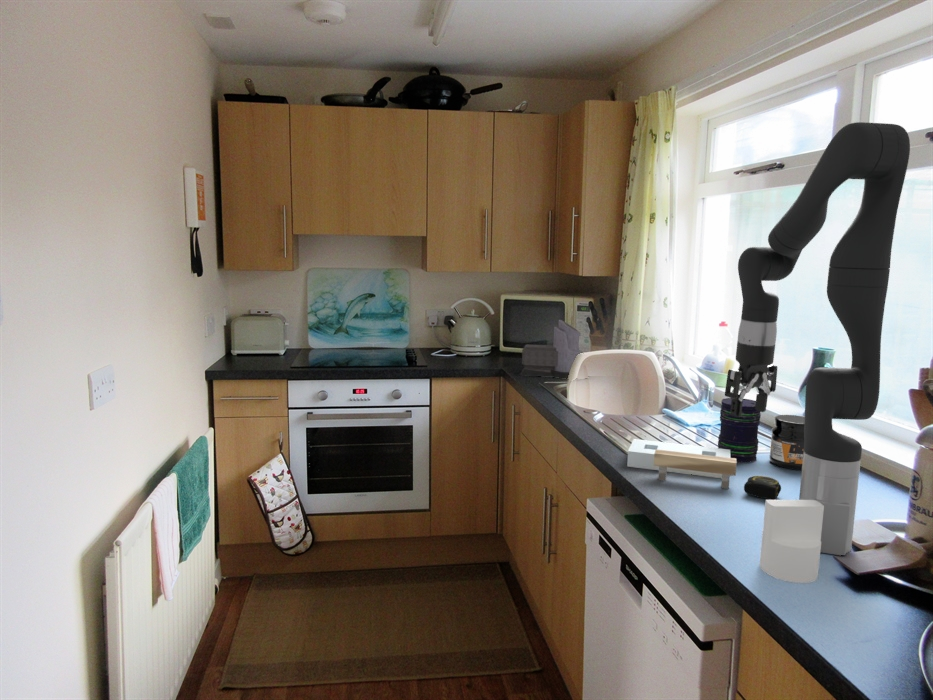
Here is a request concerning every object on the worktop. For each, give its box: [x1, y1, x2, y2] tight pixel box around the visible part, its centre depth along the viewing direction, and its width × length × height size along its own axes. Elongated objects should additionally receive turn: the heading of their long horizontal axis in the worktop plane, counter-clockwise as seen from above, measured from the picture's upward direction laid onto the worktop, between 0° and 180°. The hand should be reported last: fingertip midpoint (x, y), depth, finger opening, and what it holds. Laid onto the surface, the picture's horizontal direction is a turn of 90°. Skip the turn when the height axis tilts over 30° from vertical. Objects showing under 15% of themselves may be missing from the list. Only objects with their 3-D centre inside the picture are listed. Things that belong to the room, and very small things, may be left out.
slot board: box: [626, 438, 730, 479], centre depth 170 cm, size 12×24×4 cm, turn 69°
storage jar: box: [717, 397, 762, 464], centre depth 177 cm, size 10×10×15 cm
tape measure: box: [743, 475, 782, 500], centre depth 150 cm, size 7×7×4 cm
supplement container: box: [768, 414, 805, 471], centre depth 172 cm, size 10×10×12 cm
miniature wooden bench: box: [654, 449, 738, 490], centre depth 157 cm, size 4×18×6 cm, turn 69°
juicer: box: [519, 319, 584, 380], centre depth 290 cm, size 30×16×24 cm, turn 80°
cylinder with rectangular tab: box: [759, 499, 824, 584], centre depth 114 cm, size 9×9×12 cm
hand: (748, 413), depth 147 cm, fingers open, 8 cm apart
